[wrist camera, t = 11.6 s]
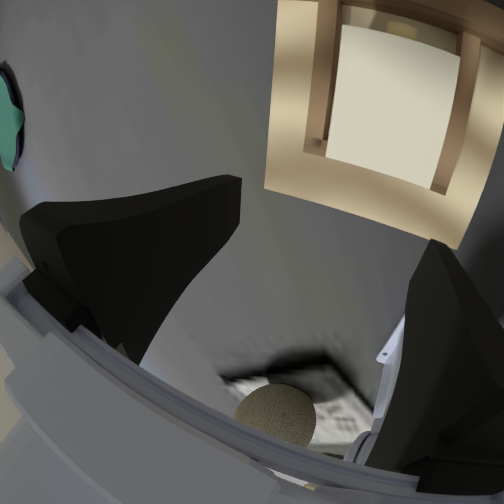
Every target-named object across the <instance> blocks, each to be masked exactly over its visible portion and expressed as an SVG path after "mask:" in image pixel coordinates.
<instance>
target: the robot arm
mask: <svg viewBox="0 0 504 504" xmlns="http://www.w3.org/2000/svg"><path fill="white" fill-rule="evenodd" d="M241 185H242V178H240V177H236V176H232V175H220V176H214V177H210V178H206V179H202V180H198V181H194V182H190V183H186V184H183V185H179V186H175V187H171V188H166V189H163V190H159V191H154V192H150V193H145V194H139V195H134V196H128V197H121V198H113V199H105V200H95V201H79V202H42V203H39V204H37V205H36V206H34V207H33V208H31V209H30V210H28V211H27V212H25V213H24V214H23V215H21V217H20V222H19V223H20V230H21V234H22V237H23V239H24V242H25V244H26V247H27V249H28V251H29V254H30V256H31V258H32V261H33V263H34V265H35V267H36V269H35V270H34V271H33V272H32V273H31V272H30V271H29V269H28V268H27V267H26V266H25V265H24V264H23V263H22V262H21V261H20V260H19V259H18V258H17V257H14V258H13V259H11V260H10V261H9V262H8V263H7V264H5V265H4V266H3V267H2V268H1V269H0V347H1V348H2V350H3V352H4V353H5V355H6V357H7V358H8V360H9V362H10V363H11V365H12V366H13V368H14V370H13V371H12V372H11V373H10V374H9V375H8V376H7V377H6V378H5V380H4V382H5V390H6V392H7V393H8V395H9V396H10V398H11V399H12V401H13V403H14V405H15V406H16V407H17V409H18V410H19V411H20V412H21V414H22V415H23V416H22V417H21V419H20V420H19V421H18V422H17V423H16V424H15V426H14V427H13V428H12V429H11V431H10V432H9V433H8V434H7V435H6V437H5V438H4V439H3V441H2V442H1V443H0V504H504V329H503V328H502V326H501V325H500V324H499V322H498V321H497V319H496V318H495V317H494V315H493V314H492V312H491V311H490V310H489V308H488V307H487V305H486V304H485V302H484V301H483V299H482V298H481V296H480V294H479V293H478V291H477V290H476V288H475V287H474V285H473V284H472V282H471V280H470V279H469V277H468V276H467V274H466V272H465V271H464V269H463V268H462V266H461V265H460V263H459V261H458V260H457V258H456V257H455V255H454V254H453V253H452V251H451V250H450V248H449V247H448V246H447V245H446V244H445V243H442V242H440V241H437V240H435V239H432V238H431V239H430V241H429V243H428V246H427V248H426V250H425V252H424V254H423V256H422V258H421V260H420V262H419V264H418V266H417V268H416V270H415V272H414V274H413V276H412V278H411V280H410V282H409V288H408V294H407V300H406V306H405V313H404V315H403V317H402V318H401V320H400V322H399V323H398V325H397V326H396V328H395V329H394V331H393V333H392V334H391V336H390V337H389V339H388V340H387V342H386V343H385V345H384V346H383V348H382V349H381V351H380V352H379V354H378V355H377V358H376V359H377V361H378V362H381V363H384V369H383V374H382V378H381V383H380V387H379V392H378V396H377V400H376V404H375V408H374V414H373V418H374V422H373V426H372V429H371V431H366V432H363V433H362V434H360V435H359V436H358V437H357V438H356V440H355V441H354V442H353V443H352V444H351V446H350V447H349V449H348V450H347V452H346V454H345V456H344V459H343V460H341V459H338V458H334V457H331V456H328V455H325V454H321V453H318V452H315V451H312V450H309V449H306V448H303V447H301V446H298V445H295V444H292V443H290V442H287V441H284V440H282V439H279V438H277V437H274V436H272V435H269V434H267V433H264V432H262V431H260V430H257V429H255V428H253V427H250V426H248V425H246V424H244V423H241V422H239V421H237V420H235V419H233V418H231V417H229V416H226V415H224V414H222V413H220V412H218V411H216V410H214V409H212V408H210V407H208V406H206V405H205V404H203V403H201V402H199V401H197V400H195V399H193V398H191V397H190V396H188V395H186V394H184V393H182V392H181V391H179V390H177V389H175V388H174V387H172V386H170V385H169V384H167V383H165V382H164V381H162V380H160V379H159V378H157V377H155V376H154V375H152V374H151V373H149V372H147V371H146V370H144V369H143V368H141V367H140V366H139V364H140V362H141V360H142V358H143V356H144V354H145V352H146V351H147V349H148V347H149V345H150V343H151V341H152V340H153V338H154V336H155V334H156V333H157V331H158V329H159V328H160V326H161V324H162V323H163V321H164V319H165V318H166V316H167V315H168V313H169V312H170V310H171V309H172V307H173V306H174V304H175V303H176V301H177V300H178V298H179V297H180V296H181V294H182V293H183V291H184V290H185V289H186V287H187V286H188V285H189V283H190V282H191V281H192V280H193V279H194V278H195V276H196V275H197V274H198V273H199V272H200V271H201V270H202V269H203V268H204V267H205V266H206V265H207V263H208V262H209V261H210V260H211V259H212V258H213V257H214V256H215V255H216V254H217V253H218V252H219V250H220V249H221V248H222V247H223V246H224V245H225V244H226V243H227V241H228V240H229V239H230V237H231V236H232V234H233V233H234V231H235V230H236V228H237V227H238V225H239V223H240V204H241ZM264 466H265V467H264ZM266 467H267V468H270V469H273V470H275V471H278V472H281V473H283V474H286V475H289V476H292V477H295V478H298V479H301V480H304V481H307V482H310V483H313V484H317V485H319V486H317V487H316V488H315V490H314V491H313V490H310V489H307V488H304V487H302V486H299V485H297V484H294V483H292V482H289V481H287V480H284V479H282V478H280V477H277V476H275V474H274V472H272V471H271V470H269V469H267V468H266Z"/></svg>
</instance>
